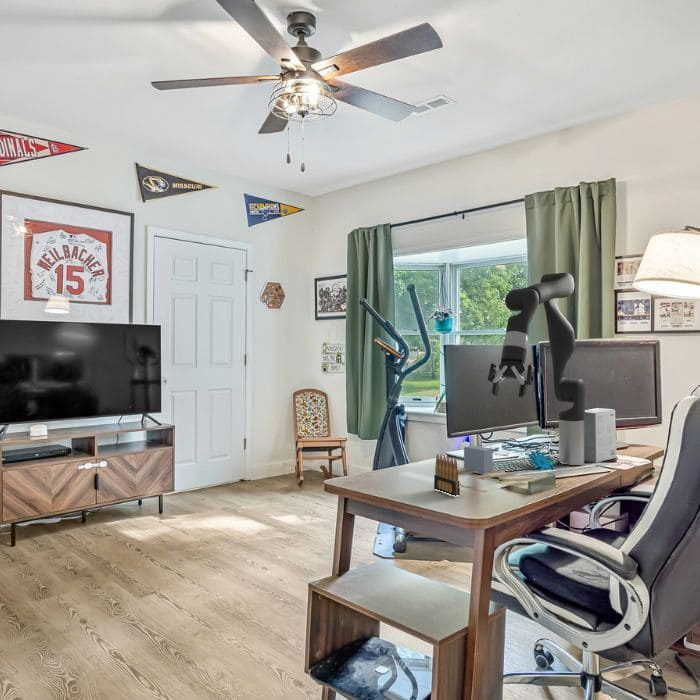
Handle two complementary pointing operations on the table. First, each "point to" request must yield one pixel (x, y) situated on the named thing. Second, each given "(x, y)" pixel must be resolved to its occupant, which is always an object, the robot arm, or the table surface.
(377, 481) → the table surface
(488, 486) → the table surface
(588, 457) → the hard drive box
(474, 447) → the slate block
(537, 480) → the trap board
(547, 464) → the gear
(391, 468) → the table surface
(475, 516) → the table surface
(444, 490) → the ammunition clip
